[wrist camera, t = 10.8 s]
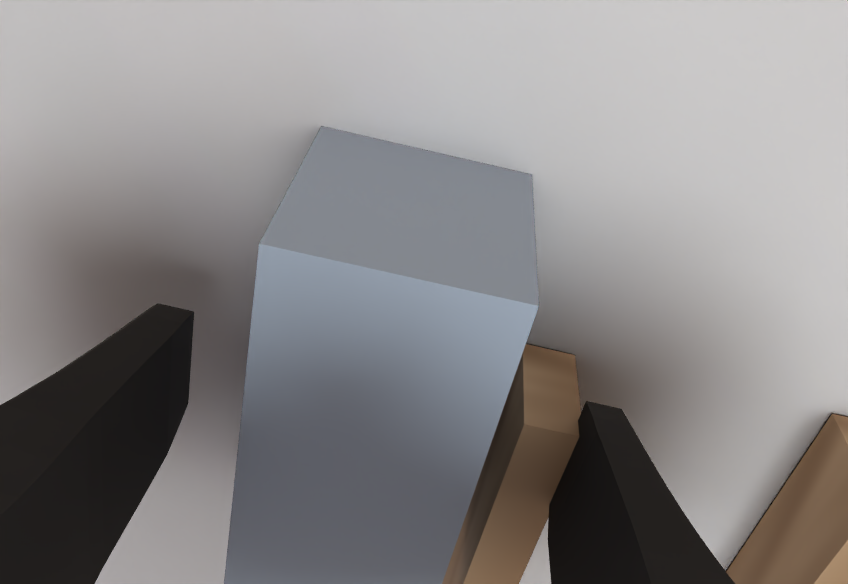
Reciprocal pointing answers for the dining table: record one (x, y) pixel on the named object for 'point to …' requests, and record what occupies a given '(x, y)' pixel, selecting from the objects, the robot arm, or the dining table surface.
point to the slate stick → (377, 361)
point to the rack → (547, 459)
